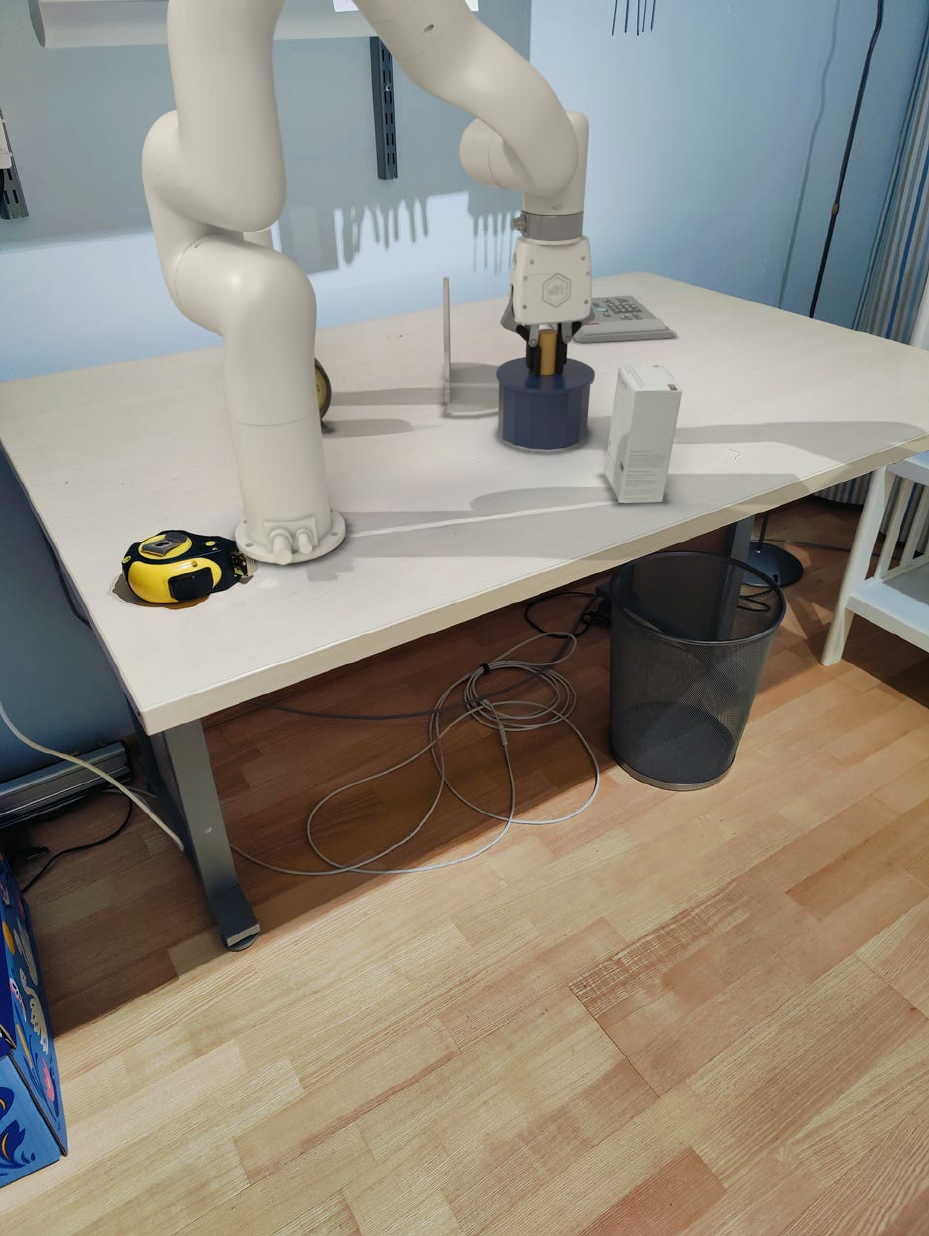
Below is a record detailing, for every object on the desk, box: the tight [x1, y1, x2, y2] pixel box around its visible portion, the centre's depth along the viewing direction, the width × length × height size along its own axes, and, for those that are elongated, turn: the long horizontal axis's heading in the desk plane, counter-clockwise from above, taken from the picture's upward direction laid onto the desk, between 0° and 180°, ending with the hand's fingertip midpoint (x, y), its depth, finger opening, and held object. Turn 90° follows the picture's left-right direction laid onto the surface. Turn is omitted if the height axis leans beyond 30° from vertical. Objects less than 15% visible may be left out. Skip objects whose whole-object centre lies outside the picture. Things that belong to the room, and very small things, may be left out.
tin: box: [497, 382, 591, 451], centre depth 121 cm, size 12×12×8 cm
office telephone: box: [549, 295, 673, 344], centre depth 165 cm, size 23×3×20 cm
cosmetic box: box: [603, 363, 683, 504], centre depth 105 cm, size 8×6×15 cm
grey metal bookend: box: [442, 276, 499, 414], centre depth 133 cm, size 22×13×17 cm, turn 0°
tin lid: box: [496, 328, 596, 394], centre depth 117 cm, size 13×13×7 cm
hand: (545, 370), depth 118 cm, fingers closed on tin lid, 2 cm apart
